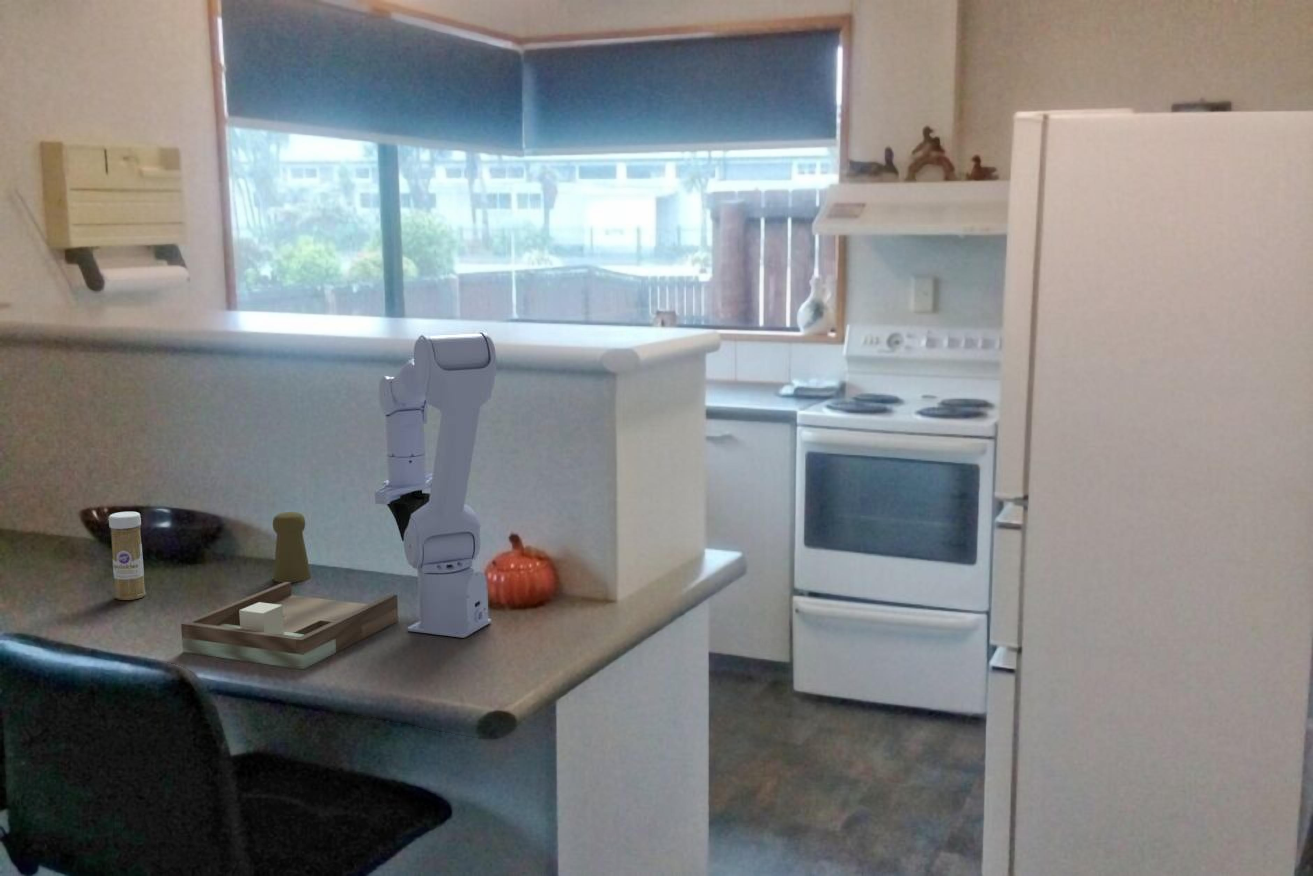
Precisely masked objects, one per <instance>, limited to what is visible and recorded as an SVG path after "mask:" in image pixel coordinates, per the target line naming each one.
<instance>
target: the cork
mask: <svg viewBox="0 0 1313 876" xmlns="http://www.w3.org/2000/svg"><path fill="white" fill-rule="evenodd" d="M272 521H273V522H272V528H273V531H274V532H275V533H276V538H275V539H276V541H275V552H274V553H275V554H274V555H275V556H274V566H273V567H274V569H273V581H274V582H276V583H280V584H281V583H284V582H291V584H292V583H298V582H304V581H308V580H309V579H311V577H312V575H311V570H310V565H309V558H308V555H307V549H306V544H305V543H306V542H305V540H304V533H303V531H304V530H305V528H306V519H305V517H304V515H303V514H302V513H300V512H295V511H287V512H282V513H281V512H280V513H278V514H276V515H275V516H274V517H273V520H272Z"/></svg>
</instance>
